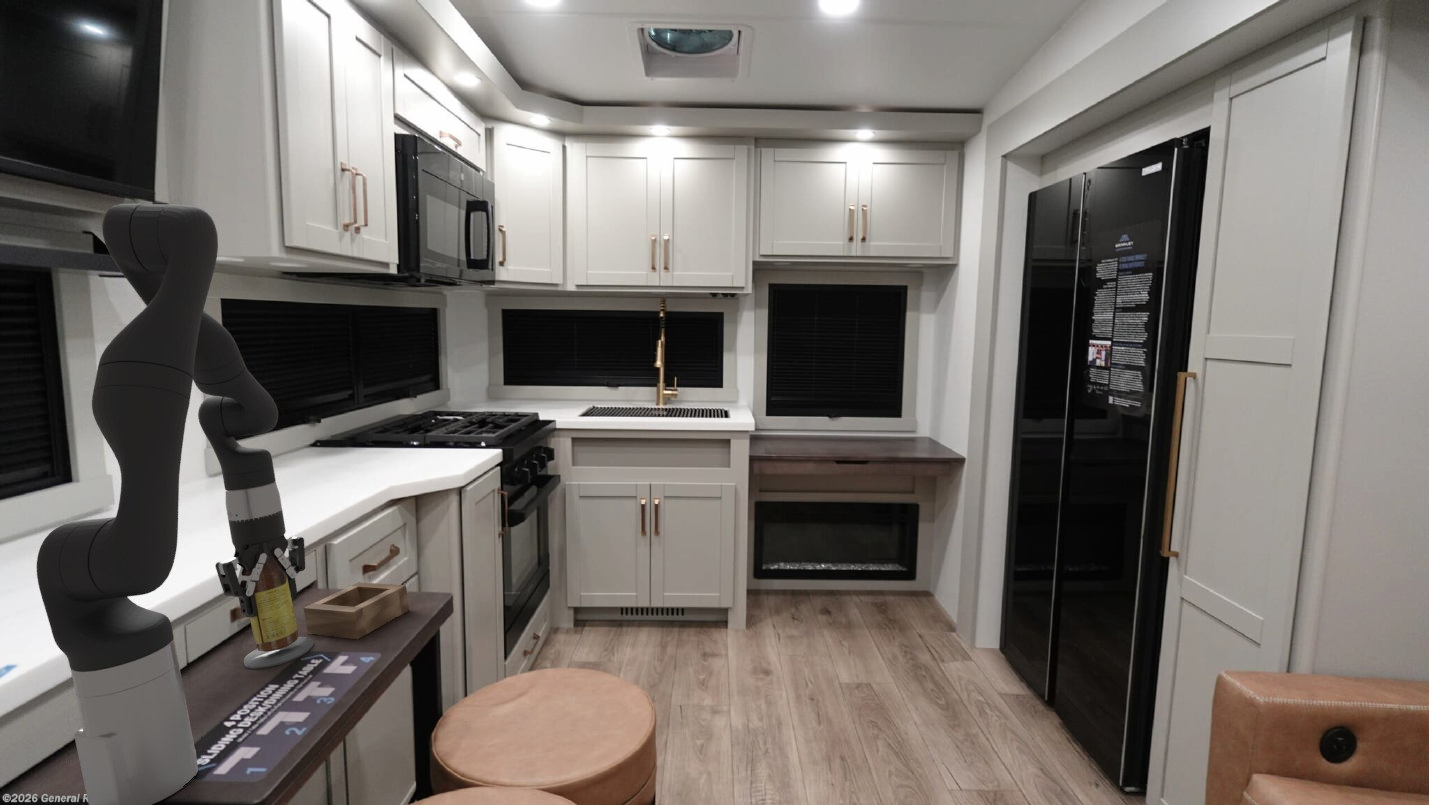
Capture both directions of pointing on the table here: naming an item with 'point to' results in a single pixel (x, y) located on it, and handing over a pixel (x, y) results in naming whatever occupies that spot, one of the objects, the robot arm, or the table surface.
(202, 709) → the table surface
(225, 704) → the table surface
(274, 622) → the sauce bottle
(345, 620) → the walnut holder
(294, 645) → the slate coaster
